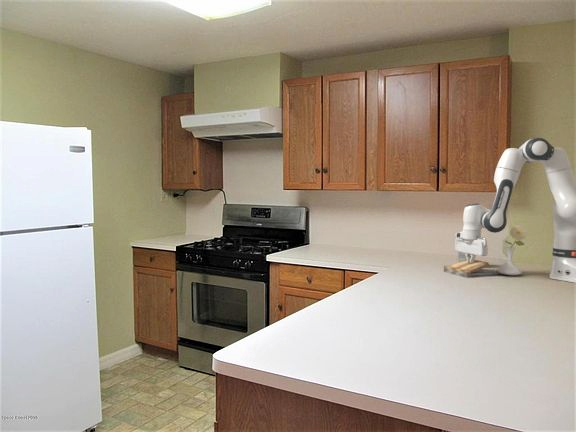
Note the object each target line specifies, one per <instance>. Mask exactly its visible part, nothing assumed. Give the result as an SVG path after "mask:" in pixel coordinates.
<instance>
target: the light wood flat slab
mask: <svg viewBox="0 0 576 432" xmlns="http://www.w3.org/2000/svg"><path fill="white" fill-rule="evenodd" d="M489 263H490V262H487V261H483V260H478V259H474V263H469V262H467V259H464V260H462V261H460V262H458V261H456V262H455V263H453V264H450V265H449V266H451V267H455V268H460V269H464V270H468V271H470V273H473V272H475V271H477V270H480V269H485V268H487V267H489V266H490V264H489Z"/></svg>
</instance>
